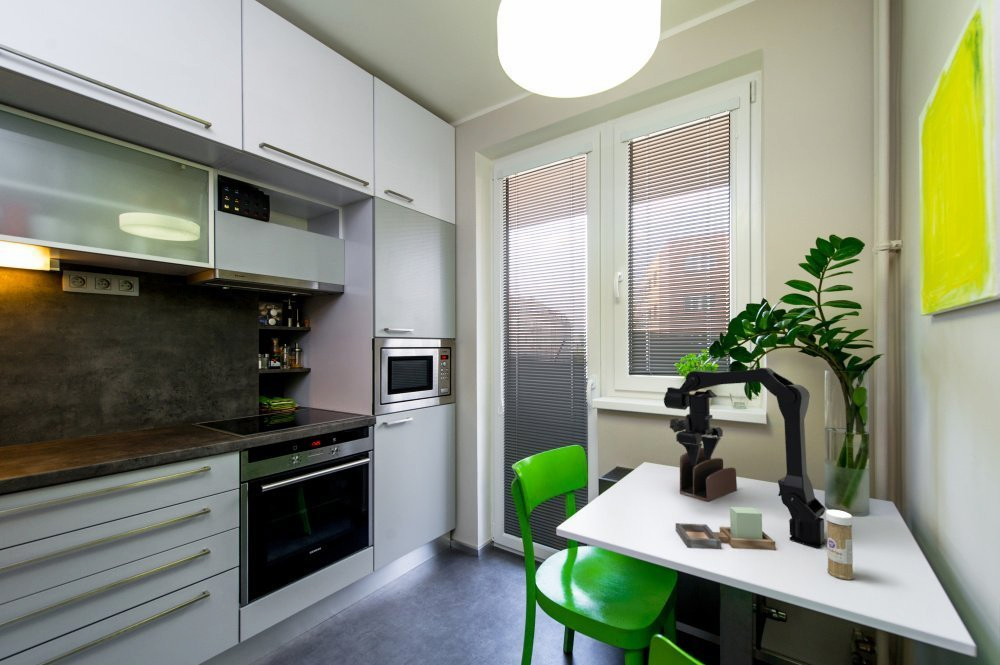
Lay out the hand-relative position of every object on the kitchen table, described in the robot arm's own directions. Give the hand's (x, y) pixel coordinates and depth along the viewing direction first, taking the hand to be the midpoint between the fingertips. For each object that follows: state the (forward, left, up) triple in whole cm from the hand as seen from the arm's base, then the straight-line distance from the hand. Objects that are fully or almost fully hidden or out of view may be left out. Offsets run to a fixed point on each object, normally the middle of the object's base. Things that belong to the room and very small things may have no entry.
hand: (700, 462), depth 132 cm
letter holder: (+7, -18, -15) cm, 25 cm away
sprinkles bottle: (-37, +14, -15) cm, 42 cm away
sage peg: (-18, +12, -15) cm, 26 cm away
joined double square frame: (-13, +17, -14) cm, 26 cm away
